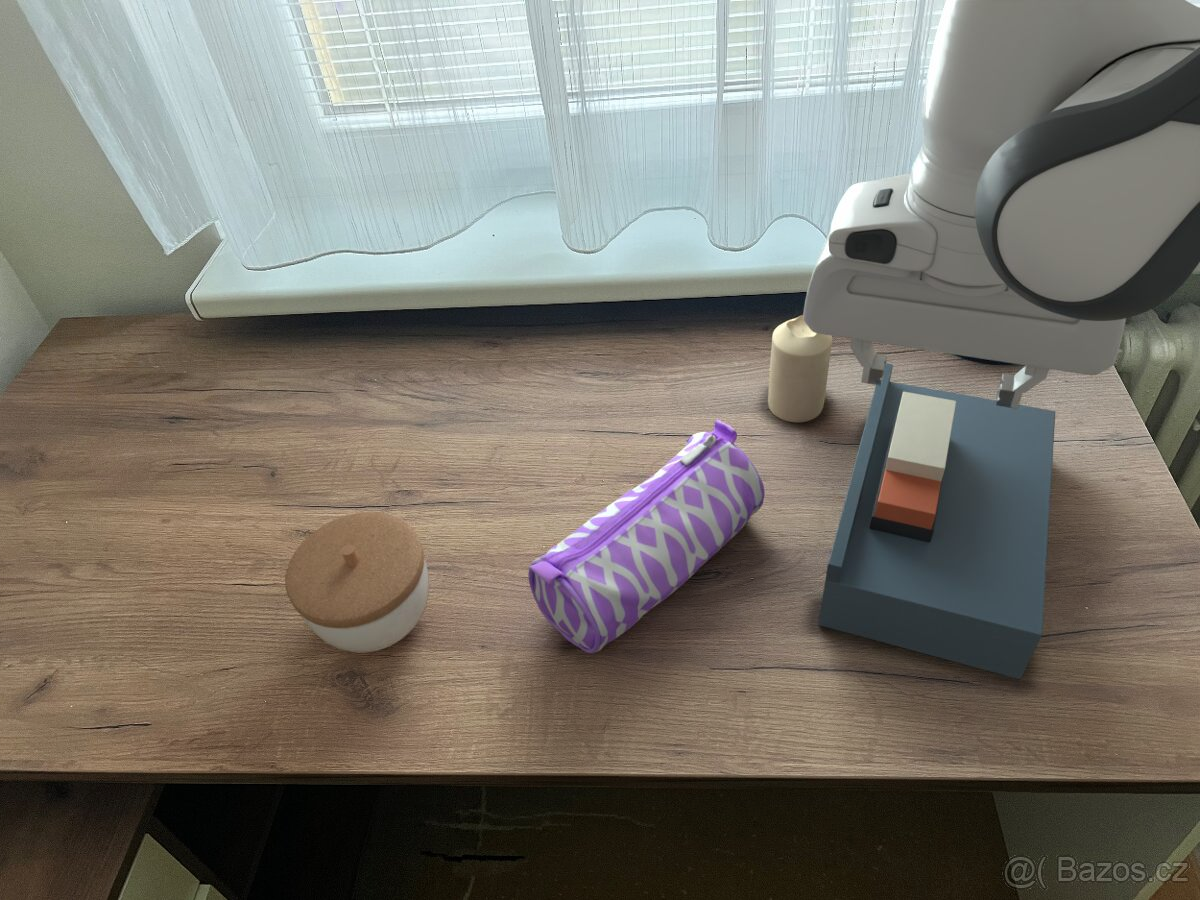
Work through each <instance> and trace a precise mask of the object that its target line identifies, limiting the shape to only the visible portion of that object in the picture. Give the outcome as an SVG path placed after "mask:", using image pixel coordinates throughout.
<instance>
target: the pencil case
mask: <svg viewBox="0 0 1200 900" xmlns="http://www.w3.org/2000/svg"><path fill="white" fill-rule="evenodd" d="M737 439H738V432H737V431H736V430H735V429H734V428H733V427H732V426H730V425H729V424H727V423H725V422H723V421H722V420H720V419H715V420H714V428H713V430H712V431H711V432H708V431H702V432H697V433H693V435H691V436H690V437H689V438H688V439H687V440H686V444H685V447H683V448H682V449H681V450H680V451H679V452H678V453H677V454H676V455H675V456H674V457H672V458H671V459H670V460H669V461H668V462H667V463H665V464H664V465H663V466H662V467H661V468H660V469H659V470H658V471H657V472H655V473H654V474H653V475H651V476H650V477H649V478H647V479H645V480H644V481H643V482H642V483H640V484H639V485H637V486H636V487H634V488H632V489H630V490H628V491H626V492H625V493H624V494H623V495H620V497H618V498H617V499H616V500H615V501H613V502H612V503H610V504H609V505H606V507H604V508H603V509H602V510H601V511H599V512H597V513H596V514H595V515H594V516H592V517H591V518H590V519H588V520H587V521H586V522H584V523H583V524H582V525H581V526H580V527H578V528H577V529H576V530H575V531H573V532H572V533H570V534H569V535H568V536H566V537H565V538H564V539H563V540H561V541H560V542H558V543H557V544H556V545H554V546H552V547H550V548H549V550H547V552H546V553H545V554H542V555H541V556H539V557H537V558H535V559H534V560H533V561H532V563H531V564H530V565H529V567H528V573H527V574H528V582H529V586H530V590H531V593H532V596H533V598H534V601H535V603H536V605H537V608H538V609H539V611H540V613H541V614H542V615H543V617H544V618H545V619H546V620H547V622H548V623H549V624H550V625H551V626H552V627H553V628H554V629H555V630H556V631H558V633H560V634H561V636H562V637H563V638H565V639H566V640H567V641H568V642H569V643H571V644H572V645H574V646H576V647H577V648H580V649H581V650H582V651H583V652H584V653H588V654H595V653H597V652H600V651H601V650H602V649H603V648H604V647H605V646H606V645H607V644H609V643H610V642H612V641H613V642H614V641H615V640H616V639H617V638H619V637H620V636H621V635H623V634H625V632H628V631H629V630H630V629H631V628H632V627H633V626H634V625H635V624H636V623H638V622H639V621H640V620H641V618H643V616H645V614H647V613H648V612H650V611H651V610H652V609H653V608H654V607H656V606H658V605H659V604H661V603H662V602H664V601H665V600H666V599H667V598H669V597H670V596H671V595H672V594H673V593H675V592H676V590H678V589H679V588H680V587H682V586H683V585H684V584H685V583H687V581H688V580H689V579H690V578H691V577H693V575H694V574H696V572H697V571H698V570H699V569H700V568H701V567H702V566H704V564H706V563H707V562H708V561H709V560H710V559H711V558H712V557H714V556H715V555H716V554H717V553H718V552H719V551H720V550H721V549H722V548H723V547H724V546H725V545H727V543H729V541H730V540H731V539H733V538H734V537H735V536H736V535H737V534H738V533H739V532H740V531H741V530H742V529H743V528H744V526H746V524H747V523H748V521H749V520H750V519H751V517H752V516H754V515H755V514H756V513H757V512H758V511H759V510H760V509H761V508H762V506H763V504H764V499H765V486H764V483H763V480H762V478H761V476H760V474H759V472H758V470H757V468H756V467H755V465H754V463H753V462H752V461H751V459H750V458H749V456H747V454H746V452H745V451H743V450H742V449H741V448H740V447H739V446H737V445H735V442H736V441H737Z"/></svg>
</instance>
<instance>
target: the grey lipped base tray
mask: <svg viewBox="0 0 1200 900" xmlns="http://www.w3.org/2000/svg"><path fill="white" fill-rule="evenodd" d="M893 368H894V364H892V363H887V362H886V365H885V373H884V377H883V380H882V384H881V386H879V385H875V386H874V389H873V390H874V391H873V394H872V398H871V401H870V404H869V405H870V406H869V408H868V409H869V410H868V412H867V417H866V421H865V424H864V428H863V432H862V435H861V439H860V443H859V447H858V450H857V454H856V457H855V461H854V466H853V470H852V473H851V476H850V481H849V484H848V488H847V492H846V495H845V499H844V502H843V507H842V509H841V514H840V517H839V522H838V526H837V529H836V533H835V536H834V540H833V544H832V547H831V551H830V555H829V559H828V562H827V563H828V564H827V569H826V574H825V580H824V587H823V591H822V592H823V593H822V598H821V604H820V610H819V616H818V622H817V625H818V626H821V627H825V628H827V629H832V630H836V631H838V632H839V631H840V632H844V633H846V634H850V635H855V636H858V637H862V638H865V639H869V640H873V641H876V642H880V643H883V644H887V645H890V646H894V647H899V648H903V649H906V650H910V651H913V652H917V653H921V654H924V655H928V656H932V657H936V658H940V659H943V660H947V661H950V662H954V663H956V664H957V663H958V664H960V665H961V664H962V665H965V666H968V667H971V668H976V669H979V670H984V671H987V672H991V673H994V674H998V675H1002V676H1005V677H1010V678H1013V679H1017V680H1021V679H1022V677H1023V674H1024V672H1025V671H1026V669H1027V667H1028V664H1029V662H1030V660H1031V659H1032V656H1033V654H1034V652H1035V650H1036V648H1037V646H1038V645H1039V642H1040V640H1041V638H1042V637H1043V627H1044V611H1045V595H1046V594H1045V593H1046V592H1045V591H1046V578H1047V577H1046V575H1047V562H1048V561H1047V559H1048V541H1049V527H1050V526H1049V525H1050V509H1051V492H1052V479H1053V477H1052V475H1053V460H1054V459H1053V458H1054V444H1055V443H1054V442H1055V426H1056V425H1055V424H1056V411H1055V410H1052V409H1046V408H1040V407H1035V406H1029V405H1024V404H1019V406H1018V408H1017V409H1014V408H1008V407H1003V406H998V405H996V400H997V399H996V400H995V399H989V398H984V397H979V396H974V395H968V394H963V393H956V392H952V391H951V392H950V391H946V390H939V389H933V388H928V387H922V386H918V385H911V384H905V383H901V382H895V381H891V377H892V372H893ZM903 392H909V393H914V394H920V395H926V396H931V397H937V398H942V399H948V400H953V401H956V407H955V413H954V418H953V424H952V430H951V436H950V442H949V448H948V454H947V460H946V466H945V470H944V475H943V480H942V486H941V492H940V498H939V504H938V510H937V516H936V522H935V527H934V532H933V536H932V539H931V542H930V543H929V542H925V541H920V540H916V539H912V538H907V537H903V536H899V535H894V534H890V533H886V532H881V531H877V530H873V529H870V528H869V527H870V523H871V518H872V513H873V509H874V505H875V501H876V496H877V492H878V488H879V484H880V479H881V475H882V471H883V466H884V462H885V458H886V454H887V449H888V445H889V441H890V437H891V432H892V428H893V424H894V420H895V416H896V415H897V416H898V411H899V407H900V403H901V398H902V394H903Z"/></svg>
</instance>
